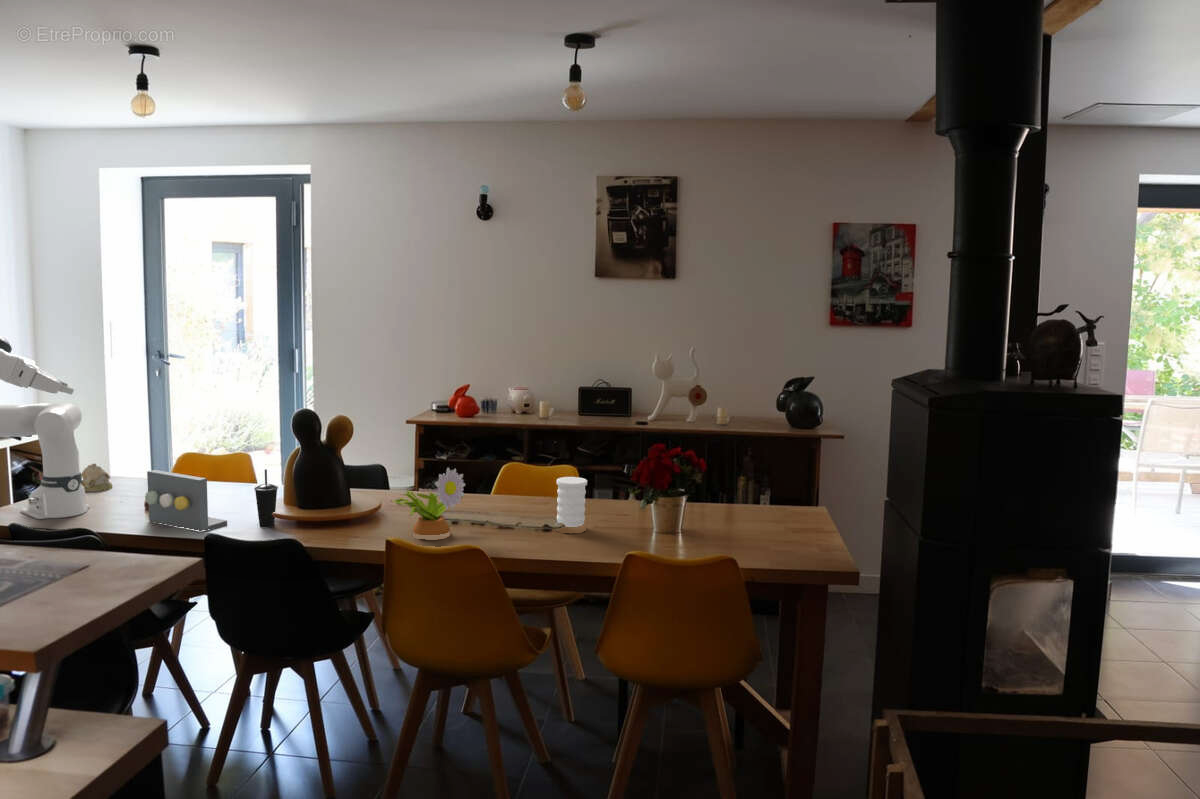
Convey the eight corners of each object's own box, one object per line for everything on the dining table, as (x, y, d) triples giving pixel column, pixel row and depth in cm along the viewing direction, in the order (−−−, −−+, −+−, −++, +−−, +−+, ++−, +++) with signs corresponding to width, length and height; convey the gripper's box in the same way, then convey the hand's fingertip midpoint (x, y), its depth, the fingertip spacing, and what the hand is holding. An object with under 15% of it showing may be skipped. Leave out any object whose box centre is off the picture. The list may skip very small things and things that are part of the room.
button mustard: (174, 509, 293) (174, 496, 293) (179, 507, 295) (179, 495, 295) (183, 511, 292) (183, 498, 291) (189, 509, 293) (188, 496, 293)
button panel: (149, 522, 305) (147, 471, 302) (176, 514, 315) (174, 465, 312) (201, 532, 295) (199, 480, 292) (227, 524, 305) (225, 474, 302)
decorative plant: (427, 549, 284) (427, 474, 280) (377, 535, 297) (377, 463, 294) (484, 531, 306) (485, 461, 302) (434, 519, 319) (435, 452, 316)
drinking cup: (253, 529, 300) (252, 472, 297) (256, 523, 307) (255, 467, 305) (277, 528, 302) (276, 471, 299) (279, 522, 309) (278, 466, 307)
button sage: (145, 503, 299) (144, 491, 299) (150, 502, 301) (150, 490, 300) (154, 505, 297) (154, 492, 297) (159, 504, 299) (159, 491, 299)
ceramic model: (118, 488, 351) (117, 463, 349) (90, 493, 341) (89, 468, 340) (99, 483, 358) (97, 459, 356) (70, 488, 348) (69, 463, 347)
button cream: (159, 506, 296) (159, 493, 296) (164, 505, 298) (164, 492, 297) (169, 508, 294) (168, 495, 294) (174, 506, 296) (173, 494, 296)
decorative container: (558, 535, 305) (559, 484, 302) (551, 525, 316) (552, 477, 313) (590, 533, 308) (591, 483, 305) (582, 524, 319) (583, 476, 316)
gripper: (12, 375, 276) (58, 392, 285) (22, 387, 261) (71, 404, 270) (21, 357, 277) (67, 374, 286) (32, 368, 261) (80, 385, 271)
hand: (69, 389), depth 278 cm, fingers open, 8 cm apart
